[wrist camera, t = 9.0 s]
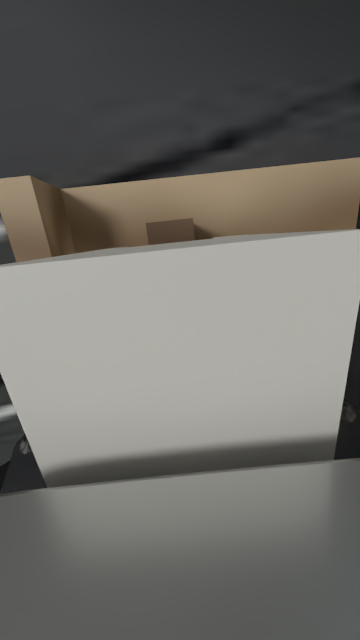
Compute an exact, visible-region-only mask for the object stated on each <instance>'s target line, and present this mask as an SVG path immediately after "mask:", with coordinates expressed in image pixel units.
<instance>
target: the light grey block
mask: <svg viewBox="0 0 360 640" xmlns="http://www.w3.org/2000/svg"><path fill="white" fill-rule="evenodd" d="M359 301H360V229H352V230H332V231H312V232H293V233H273V234H253V235H234V236H224V237H214V238H213V239H204V240H194V241H185V242H175V243H165V244H156V245H146V246H136V247H118V248H109V249H101V250H95V251H88V252H82V253H75V254H69V255H62V256H56V257H49V258H43V259H36V260H30V261H23V262H17V263H10V264H3V265H0V373H1V376H2V378H3V381H4V383H5V386H6V388H7V391H8V393H9V395H10V398H11V400H12V403H13V405H14V408H15V410H16V413H17V415H18V417H19V420H20V422H21V425H22V427H23V430H24V432H25V434H26V437H27V439H28V442H29V444H30V447H31V449H32V452H33V454H34V456H35V459H36V461H37V464H38V466H39V469H40V471H41V474H42V476H43V478H44V481H45V483H46V486H47V488H51V487H60V486H70V485H79V484H89V483H98V482H108V481H117V480H127V479H136V478H146V477H156V476H166V475H176V474H186V473H196V472H207V471H217V470H227V469H238V468H248V467H259V466H270V465H281V464H292V463H303V462H314V461H327V460H334V454H335V448H336V442H337V436H338V429H339V423H340V417H341V411H342V405H343V399H344V393H345V387H346V381H347V374H348V368H349V362H350V356H351V350H352V344H353V338H354V332H355V326H356V319H357V313H358V307H359Z"/></svg>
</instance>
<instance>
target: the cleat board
mask: <svg viewBox="0 0 360 640" xmlns="http://www.w3.org/2000/svg"><path fill="white" fill-rule="evenodd" d="M359 203H360V158H350V159H341V160H332V161H322V162H313V163H303V164H294V165H284V166H275V167H265V168H256V169H247V170H237V171H228V172H218V173H209V174H199V175H190V176H181V177H171V178H162V179H152V180H143V181H133V182H124V183H114V184H105V185H96V186H86V187H77V188H67V189H59V188H57V187H54V186H52V185H50V184H48V183H45V182H43V181H41V180H39V179H36V178H34V177H32V176H21V177H12V178H2V179H0V212H1V215H2V218H3V222H4V225H5V228H6V231H7V234H8V237H9V240H10V243H11V246H12V250H13V253H14V256H15V259H16V262H23V261H30V260H36V259H43V258H49V257H56V256H62V255H69V254H75V253H82V252H88V251H95V250H101V249H109V248H118V247H136V246H146V245H156V244H165V243H175V242H185V241H194V240H204V239H213V238H214V237H224V236H234V235H253V234H273V233H293V232H312V231H332V230H352V229H356V224H357V217H358V210H359Z"/></svg>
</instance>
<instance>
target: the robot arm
mask: <svg viewBox="0 0 360 640" xmlns="http://www.w3.org/2000/svg"><path fill="white" fill-rule="evenodd" d="M0 640H360V412H359V410H358V409H357V408H356V407H355V406H354V405H352V404H351V403H349V402H347V401H345V400H343V405H342V411H341V417H340V423H339V429H338V436H337V442H336V448H335V454H334V460H327V461H314V462H303V463H292V464H281V465H270V466H259V467H248V468H238V469H227V470H217V471H207V472H196V473H186V474H176V475H166V476H156V477H146V478H136V479H127V480H117V481H108V482H98V483H89V484H79V485H70V486H60V487H51V488H47V486H46V483H45V481H44V478H43V476H42V474H41V471H40V469H39V466H38V464H37V461H36V459H35V456H34V454H33V452H32V449H31V447H30V444H29V442H28V439H27V437H26V434H25V435H24V436H22V437H21V438H20V440H19V441H18V442H17V443H16V445H15V447H14V450H13V453H12V457H11V460H10V461H8V462H7V463H5V464H3V465H2V466H0Z"/></svg>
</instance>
